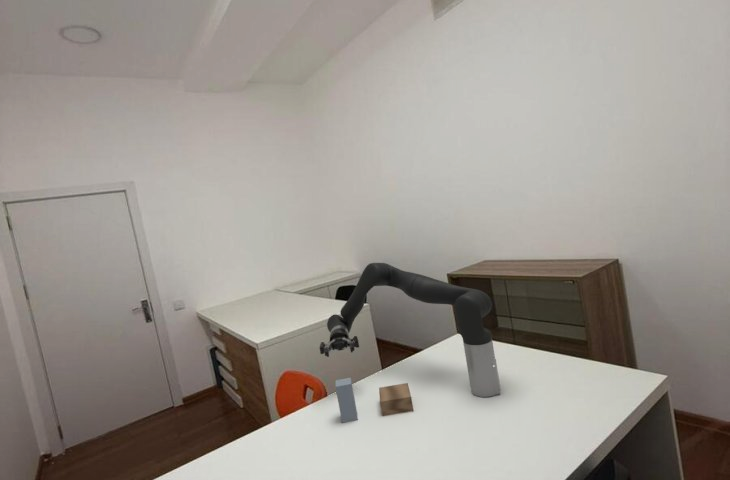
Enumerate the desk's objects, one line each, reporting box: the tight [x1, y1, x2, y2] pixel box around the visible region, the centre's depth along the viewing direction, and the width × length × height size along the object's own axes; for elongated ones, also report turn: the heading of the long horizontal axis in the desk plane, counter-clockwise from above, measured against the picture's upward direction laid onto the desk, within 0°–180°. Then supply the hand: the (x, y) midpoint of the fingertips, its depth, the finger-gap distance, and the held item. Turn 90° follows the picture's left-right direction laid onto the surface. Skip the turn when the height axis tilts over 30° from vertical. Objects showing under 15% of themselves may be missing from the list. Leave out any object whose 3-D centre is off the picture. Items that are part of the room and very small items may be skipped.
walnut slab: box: [378, 382, 414, 417], centre depth 129 cm, size 10×10×5 cm
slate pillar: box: [335, 377, 358, 424], centre depth 127 cm, size 5×5×12 cm
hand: (339, 352), depth 137 cm, fingers open, 8 cm apart
